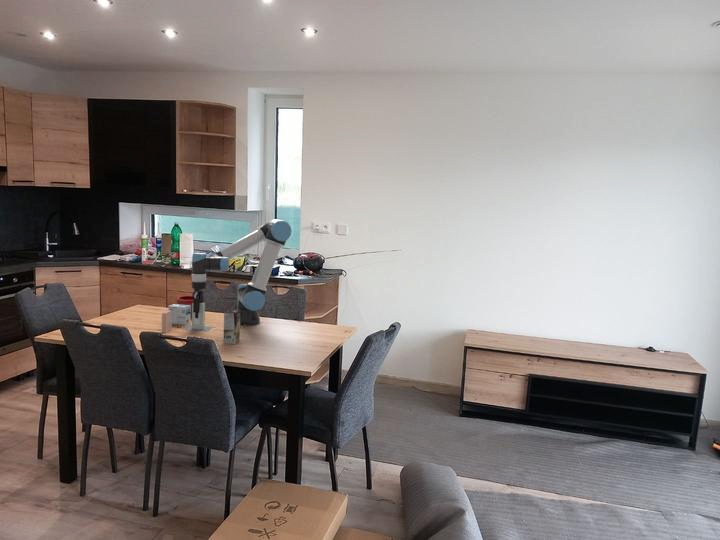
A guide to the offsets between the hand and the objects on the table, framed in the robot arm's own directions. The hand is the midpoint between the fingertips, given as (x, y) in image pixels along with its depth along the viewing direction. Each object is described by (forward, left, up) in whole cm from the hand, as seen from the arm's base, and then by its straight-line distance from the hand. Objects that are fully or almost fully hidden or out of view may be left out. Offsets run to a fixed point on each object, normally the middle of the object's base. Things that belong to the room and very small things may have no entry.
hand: (198, 322), depth 302 cm
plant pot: (+15, -30, -4) cm, 34 cm away
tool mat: (0, 0, -4) cm, 4 cm away
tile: (+14, +9, -4) cm, 17 cm away
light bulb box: (+14, -11, -4) cm, 18 cm away
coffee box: (-24, +22, -4) cm, 33 cm away
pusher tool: (0, 0, -3) cm, 3 cm away
